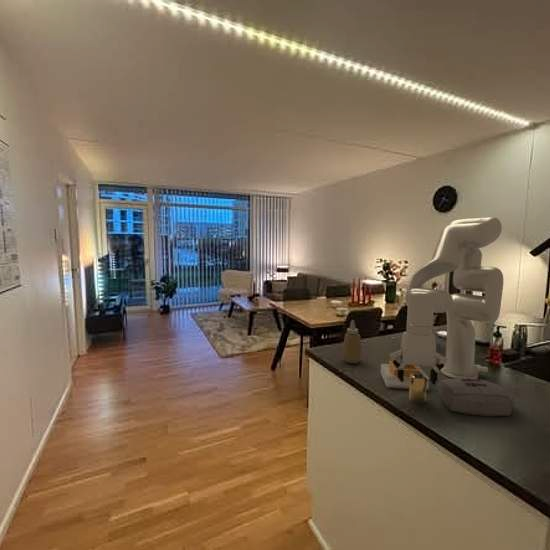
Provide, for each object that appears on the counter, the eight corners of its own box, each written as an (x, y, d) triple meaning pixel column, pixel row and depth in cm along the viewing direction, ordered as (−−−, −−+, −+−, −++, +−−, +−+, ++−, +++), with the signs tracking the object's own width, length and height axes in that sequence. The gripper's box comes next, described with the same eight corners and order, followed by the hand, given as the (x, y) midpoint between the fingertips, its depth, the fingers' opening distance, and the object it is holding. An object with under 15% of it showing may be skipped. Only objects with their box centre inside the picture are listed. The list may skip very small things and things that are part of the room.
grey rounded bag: (451, 417, 90) (527, 422, 87) (452, 390, 90) (529, 394, 87) (433, 393, 105) (497, 397, 102) (434, 369, 104) (498, 372, 102)
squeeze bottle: (362, 365, 130) (363, 323, 128) (342, 364, 132) (343, 322, 130) (361, 358, 138) (361, 319, 136) (342, 357, 140) (343, 318, 138)
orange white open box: (418, 375, 119) (419, 360, 119) (428, 389, 107) (429, 373, 107) (380, 373, 121) (381, 358, 121) (386, 387, 110) (387, 370, 109)
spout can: (427, 404, 98) (428, 377, 97) (411, 403, 98) (412, 376, 98) (421, 394, 104) (422, 369, 103) (406, 393, 105) (406, 368, 104)
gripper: (444, 328, 101) (441, 379, 102) (388, 325, 103) (386, 375, 105) (453, 334, 93) (450, 389, 94) (393, 330, 96) (391, 384, 97)
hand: (416, 381), depth 99 cm, fingers open, 9 cm apart
